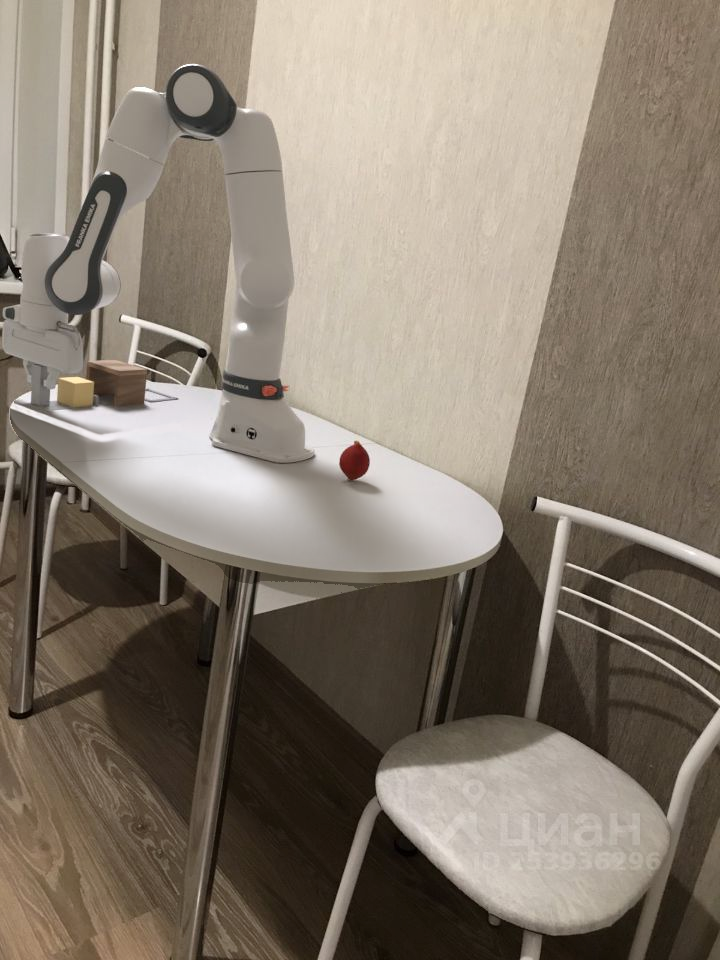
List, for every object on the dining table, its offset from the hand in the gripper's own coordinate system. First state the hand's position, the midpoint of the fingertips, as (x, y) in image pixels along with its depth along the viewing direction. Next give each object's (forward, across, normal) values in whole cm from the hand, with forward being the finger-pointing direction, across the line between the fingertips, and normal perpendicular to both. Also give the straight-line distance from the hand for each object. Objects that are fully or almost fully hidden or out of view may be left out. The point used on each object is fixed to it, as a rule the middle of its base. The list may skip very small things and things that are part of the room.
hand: (40, 385), depth 150 cm
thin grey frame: (+5, -2, -28) cm, 29 cm away
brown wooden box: (+5, -2, -18) cm, 19 cm away
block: (+4, -2, -7) cm, 8 cm away
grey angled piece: (+5, -2, -6) cm, 8 cm away
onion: (+5, -63, -21) cm, 67 cm away
